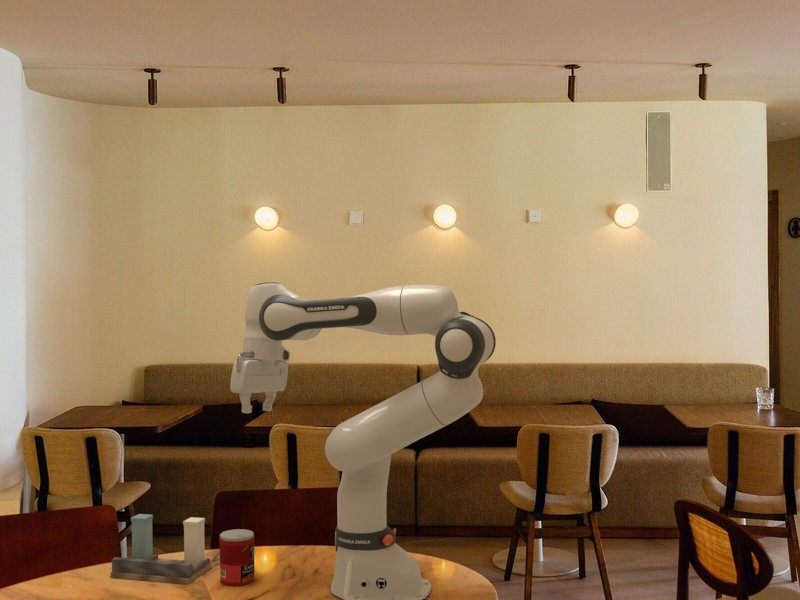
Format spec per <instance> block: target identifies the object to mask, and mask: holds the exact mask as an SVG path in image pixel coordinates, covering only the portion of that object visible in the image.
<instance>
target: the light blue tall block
mask: <svg viewBox="0 0 800 600" xmlns="http://www.w3.org/2000/svg"><path fill="white" fill-rule="evenodd" d="M153 519H154V514H150V513H149V514H147V513H145V514H144V513H138V514H136V515H133V516H132V517H130V522H131V556H132V558H133V559H145V560H146V559H148V558H150V557H151V556H153V555H154V551H153V550H154V549H153V548H154V546H153V545H154V544H153Z"/></svg>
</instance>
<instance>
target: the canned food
mask: <svg viewBox="0 0 800 600" xmlns="http://www.w3.org/2000/svg"><path fill="white" fill-rule="evenodd" d="M219 579H220V582H221V584H223V585H226V586H229V587H241V586H242V587H243V586H246V585H249V584H251V583H252V582H254V579H255V533H254V532H253V531H252V530H249V529H246V528H245V529H244V528H242V529H240V528H236V529H234V528H233V529H229V530H228V529H227V530H225V531H222V532H221V533H220V534H219Z"/></svg>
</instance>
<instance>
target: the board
mask: <svg viewBox="0 0 800 600" xmlns="http://www.w3.org/2000/svg"><path fill="white" fill-rule="evenodd" d="M212 563H213V562H211V558H205V560H204V561H202V562H201V563H200V564H198V565H197V566H195V567H192V563H184V559H182V560H181V559H171V558H159V554H157V553H154V554H153V556H151V557H150V558H148V559H146V560H145V559H133V558H132V555H130V556H129V557H118V556H117V557H116V556H115V557H113V558H111V572H110V578H111V579H121V580H131V581H145V582H153V583H164V584H165V583H166V584H176V585H177V584H179V585H189V584H191V583H192V582H194V581H195V580H196V579H198V578H199V577H201V576H202V575H203V574H205V573H207V572H208V571H209V570H210V569H212V568H213V565H212Z"/></svg>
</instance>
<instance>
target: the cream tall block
mask: <svg viewBox="0 0 800 600" xmlns="http://www.w3.org/2000/svg"><path fill="white" fill-rule="evenodd" d="M205 523H206V518H205V517H191V516H190V517H189V518H187V519H185V520H183V521H182V525H183V532H184V533H183V542H184V543H183V545H184V546H183V551H184V553H183V556H184V557H183V558H184V559H183V560H184V563H192V567H195V566H197V565H198V564H200V563H201V562H202V561H204V560H205V559H206V557H205Z"/></svg>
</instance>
